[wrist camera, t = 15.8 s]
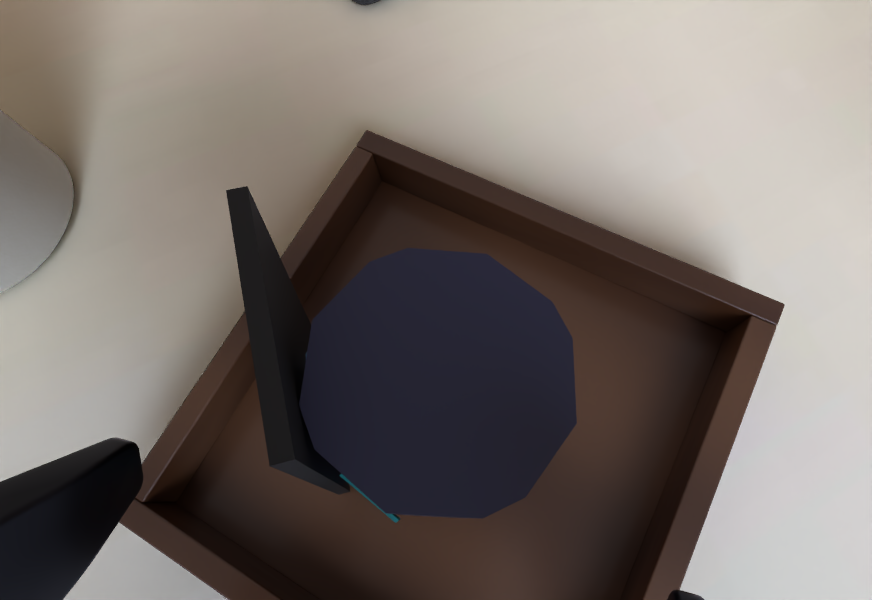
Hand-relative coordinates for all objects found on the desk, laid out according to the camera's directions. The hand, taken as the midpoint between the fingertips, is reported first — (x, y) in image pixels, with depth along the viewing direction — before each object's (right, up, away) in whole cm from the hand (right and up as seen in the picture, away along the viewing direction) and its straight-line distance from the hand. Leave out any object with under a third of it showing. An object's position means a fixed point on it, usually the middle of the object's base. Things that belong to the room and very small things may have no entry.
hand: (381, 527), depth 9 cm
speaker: (+1, 0, +10) cm, 10 cm away
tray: (+2, -1, +10) cm, 11 cm away
